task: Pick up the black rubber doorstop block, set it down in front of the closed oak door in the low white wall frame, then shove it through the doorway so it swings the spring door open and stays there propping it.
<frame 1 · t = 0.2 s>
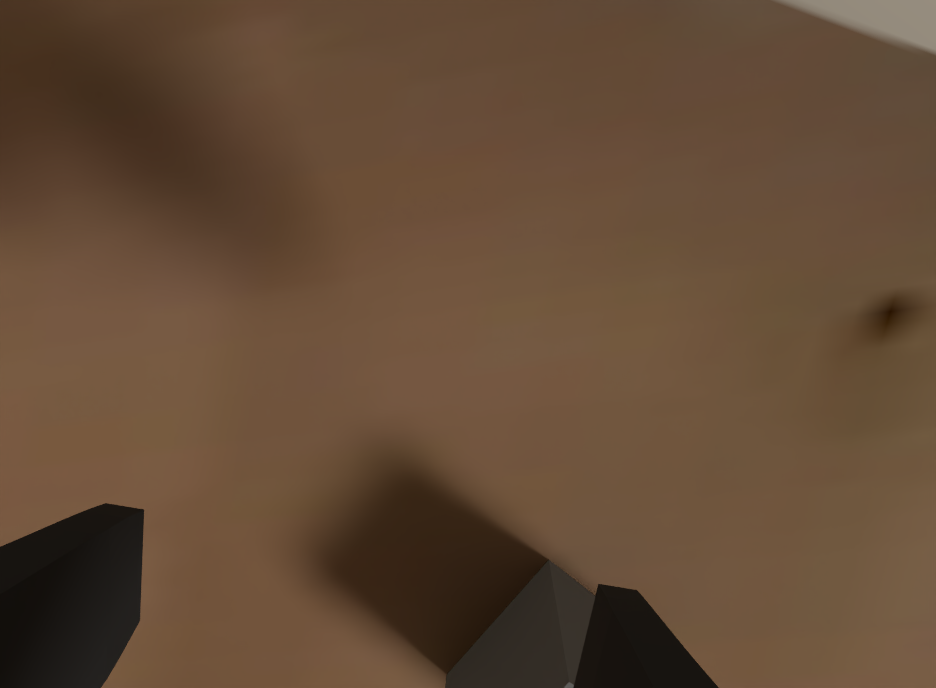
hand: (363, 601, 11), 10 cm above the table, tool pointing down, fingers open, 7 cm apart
doorstop: (546, 655, 22), on the table
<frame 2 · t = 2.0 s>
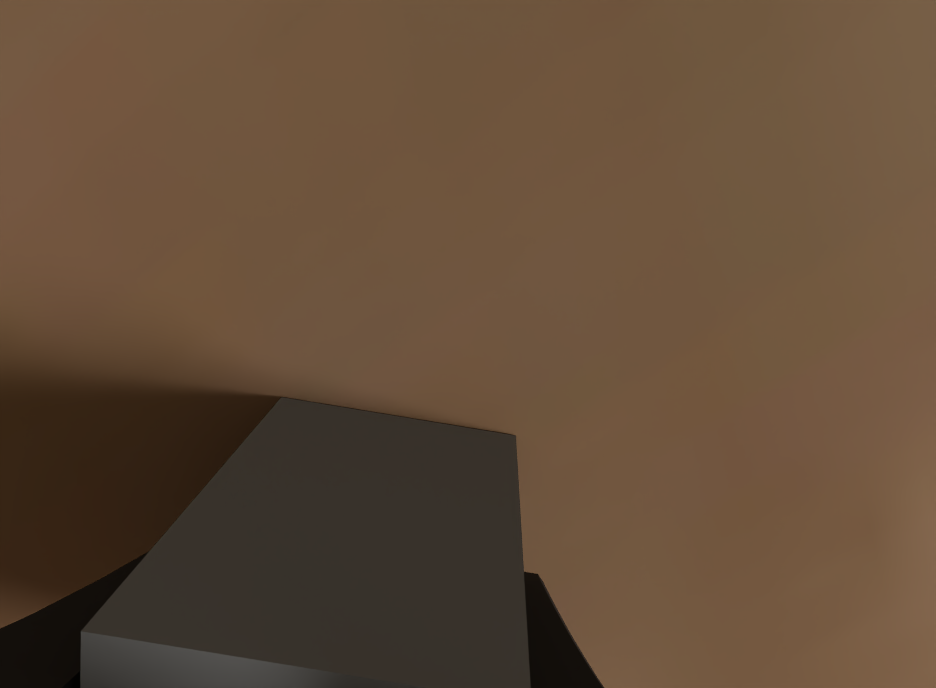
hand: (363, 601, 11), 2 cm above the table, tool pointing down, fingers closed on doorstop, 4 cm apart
doorstop: (380, 545, 13), on the table, touching gripper
when the fingers open (3 cm above the table, at t = 5.5 s): doorstop drops 1 cm, on the table.
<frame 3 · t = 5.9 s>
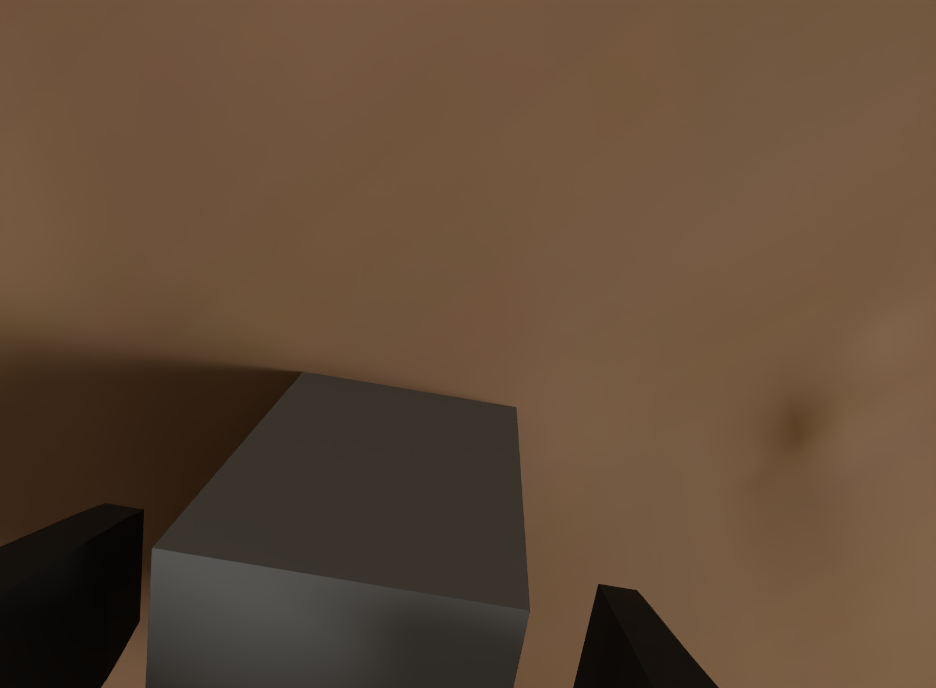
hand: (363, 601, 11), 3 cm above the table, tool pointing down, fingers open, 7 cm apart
doorstop: (392, 508, 14), on the table
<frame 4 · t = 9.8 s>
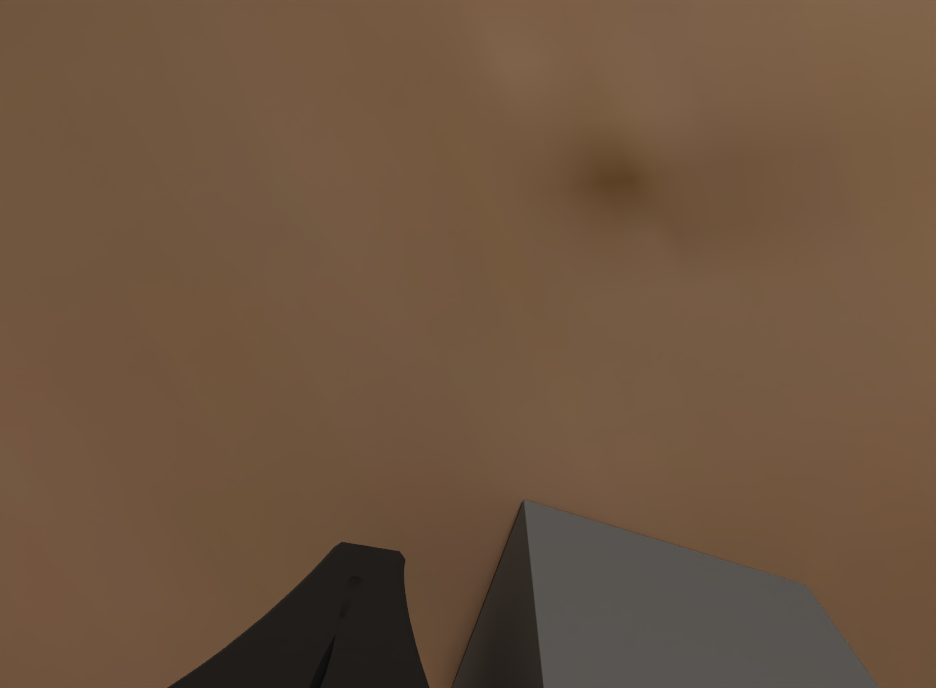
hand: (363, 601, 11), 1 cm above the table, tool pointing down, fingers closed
doorstop: (622, 639, 12), on the table, touching gripper
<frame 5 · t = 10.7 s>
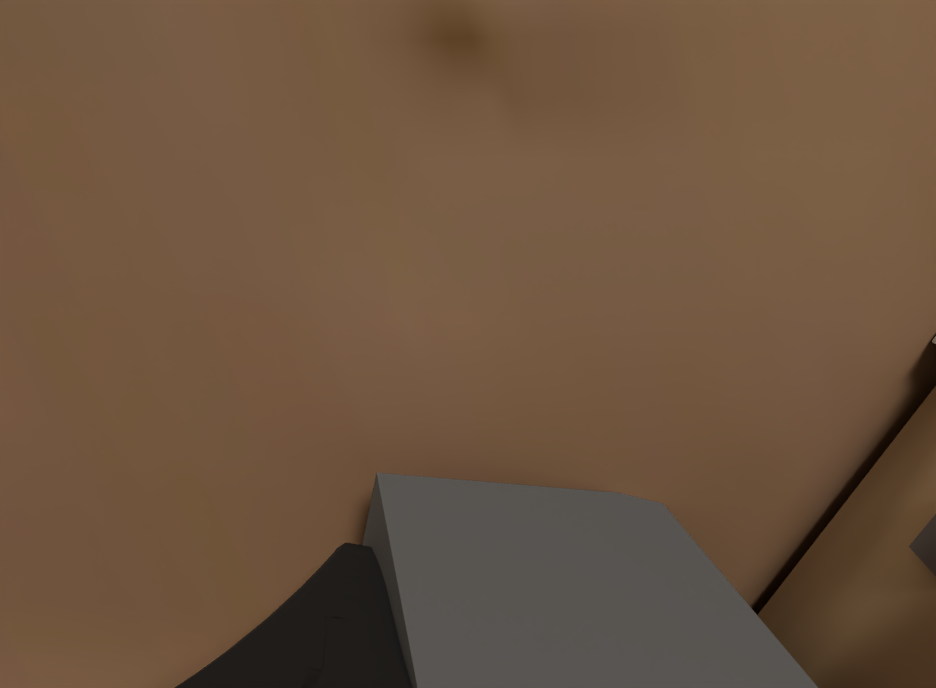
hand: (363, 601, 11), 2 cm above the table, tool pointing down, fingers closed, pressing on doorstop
doorstop: (497, 584, 13), on the table, tilted 18°, touching gripper
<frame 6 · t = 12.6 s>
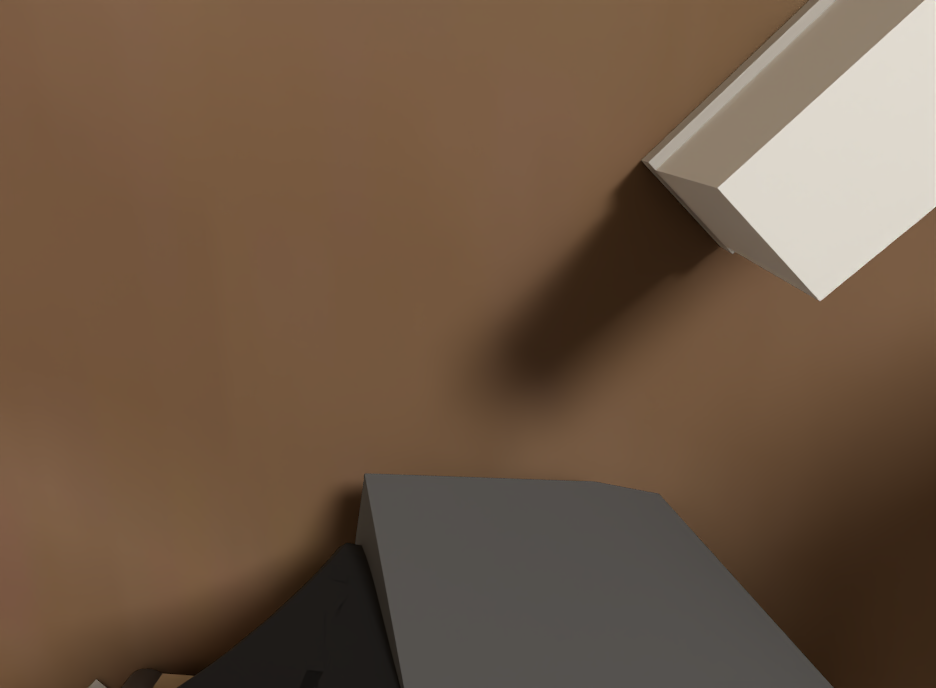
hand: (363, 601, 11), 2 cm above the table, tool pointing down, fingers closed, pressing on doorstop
doorstop: (494, 580, 12), on the table, tilted 18°, touching gripper
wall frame: (371, 487, 13), on the table
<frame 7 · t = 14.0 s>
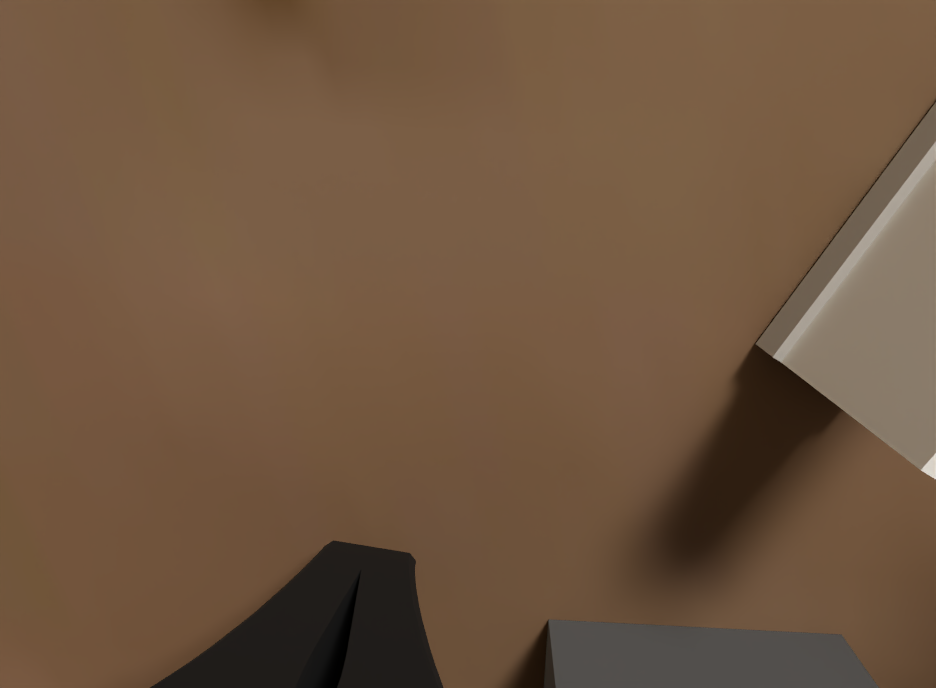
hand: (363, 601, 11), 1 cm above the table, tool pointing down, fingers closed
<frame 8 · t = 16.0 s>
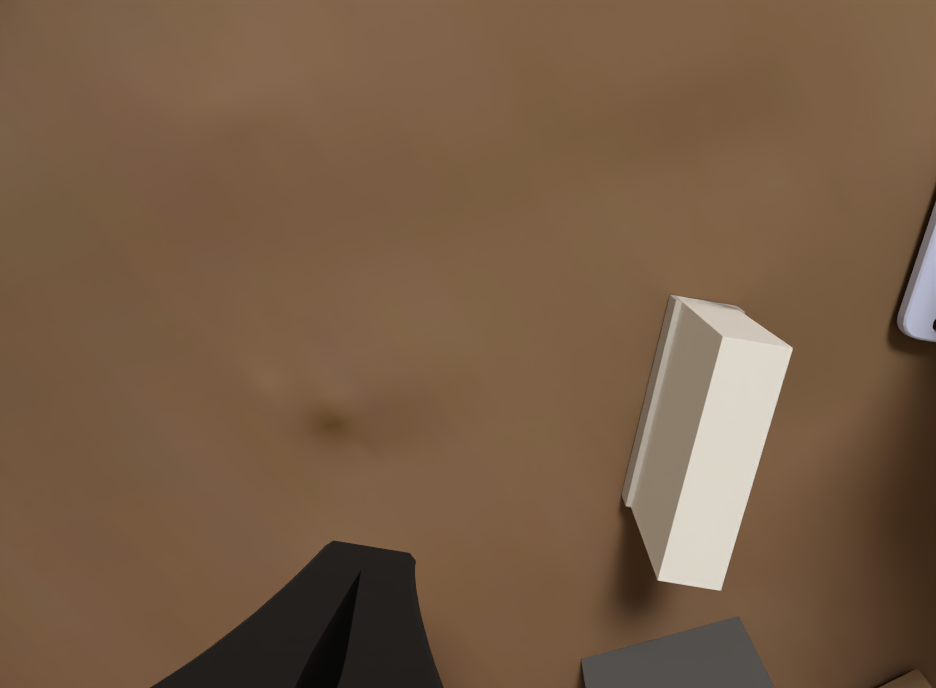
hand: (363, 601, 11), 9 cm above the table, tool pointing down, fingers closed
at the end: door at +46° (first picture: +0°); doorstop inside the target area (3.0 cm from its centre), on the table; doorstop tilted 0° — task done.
